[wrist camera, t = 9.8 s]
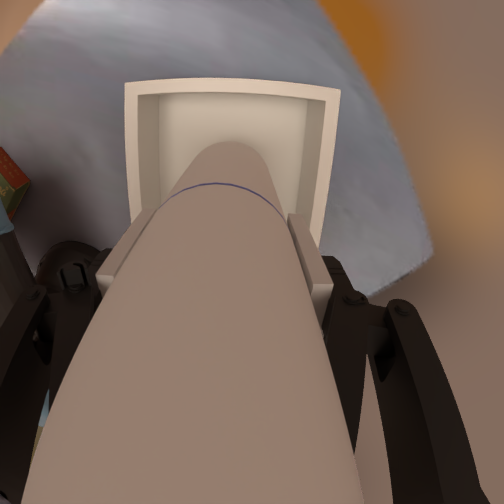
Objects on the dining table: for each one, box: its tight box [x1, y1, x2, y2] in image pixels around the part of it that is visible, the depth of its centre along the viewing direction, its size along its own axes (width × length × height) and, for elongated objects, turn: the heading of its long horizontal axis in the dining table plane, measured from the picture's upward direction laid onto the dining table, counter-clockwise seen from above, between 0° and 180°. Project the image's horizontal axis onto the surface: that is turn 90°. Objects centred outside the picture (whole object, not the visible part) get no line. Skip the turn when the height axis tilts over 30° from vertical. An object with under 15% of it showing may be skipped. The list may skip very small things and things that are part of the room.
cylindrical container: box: [21, 141, 365, 504], centre depth 14 cm, size 7×7×25 cm
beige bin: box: [125, 78, 341, 248], centre depth 29 cm, size 18×18×8 cm
